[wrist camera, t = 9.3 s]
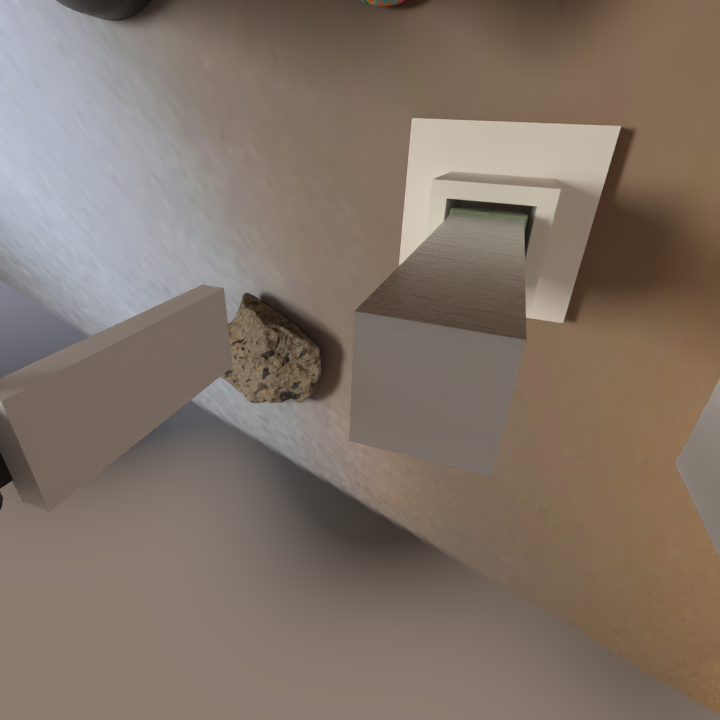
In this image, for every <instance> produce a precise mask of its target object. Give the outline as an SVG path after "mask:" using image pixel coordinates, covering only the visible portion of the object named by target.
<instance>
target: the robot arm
mask: <svg viewBox="0 0 720 720" xmlns="http://www.w3.org/2000/svg"><path fill="white" fill-rule="evenodd" d="M56 1H58V2H59V3H61V4H63V5H64V6H66V7H68V8H70V9H72V10H75V11H77V12H80V13H84V14H87V15H90V16H94V17H97V18H101V19H106V20H119V19H123V18H126V17H129V16H131V15H133V14H135V13H136V12H138V11H139V10H140V9H142V8H143V7H144V6H145V5H146V4H147V3H148V2H149V0H56ZM231 367H233V364H232V355H231V347H230V338H229V330H228V321H227V312H226V304H225V295H224V288H219V287H213V286H207V285H201V286H199V287H197V288H195V289H192V290H190V291H188V292H186V293H184V294H182V295H179V296H177V297H175V298H173V299H171V300H169V301H167V302H164V303H162V304H160V305H158V306H156V307H154V308H151V309H149V310H147V311H145V312H143V313H141V314H138V315H136V316H134V317H132V318H130V319H128V320H125V321H123V322H121V323H119V324H117V325H115V326H113V327H110V328H108V329H106V330H104V331H102V332H100V333H97V334H95V335H93V336H91V337H89V338H87V339H84V340H82V341H80V342H78V343H76V344H74V345H72V346H69V347H67V348H65V349H63V350H61V351H59V352H56V353H54V354H52V355H50V356H48V357H46V358H43V359H41V360H39V361H37V362H35V363H33V364H31V365H28V366H26V367H24V368H22V369H20V370H18V371H16V372H13V373H11V374H9V375H7V376H5V377H2V378H0V488H2V487H3V486H5V485H6V484H8V483H9V482H11V481H13V483H14V485H15V487H16V489H17V491H18V494H19V496H20V498H21V500H22V502H24V503H27V504H30V505H33V506H35V507H38V508H41V509H43V510H46V511H48V512H50V511H51V510H53V509H54V508H55V507H56V506H58V505H59V504H60V503H61V502H63V501H64V500H65V499H66V498H68V497H69V496H70V495H72V494H73V493H74V492H75V491H77V490H78V489H79V488H80V487H82V486H83V485H84V484H85V483H86V482H87V481H89V480H90V479H92V478H93V477H94V476H95V475H97V474H98V473H99V472H100V471H102V470H103V469H104V468H106V467H107V466H108V465H109V464H111V463H112V462H113V461H114V460H116V459H117V458H118V457H119V456H121V455H122V454H123V453H124V452H126V451H127V450H128V449H129V448H131V447H132V446H133V445H134V444H136V443H137V442H138V441H140V440H141V439H142V438H143V437H145V436H146V435H147V434H148V433H150V432H151V431H152V430H153V429H155V428H156V427H157V426H158V425H160V424H161V423H162V422H163V421H165V420H166V419H167V418H168V417H170V416H171V415H172V414H173V413H175V412H176V411H177V410H178V409H180V408H181V407H182V406H183V405H185V404H186V403H187V402H188V401H190V400H191V399H192V398H194V397H195V396H196V395H197V394H199V393H200V392H201V391H202V390H204V389H205V388H206V387H207V386H209V385H210V384H211V383H212V382H214V381H215V380H216V379H218V378H219V377H220V376H221V375H223V374H224V373H225V372H226V371H228V370H229V369H230V368H231ZM675 465H676V467H677V469H678V471H679V473H680V475H681V477H682V480H683V482H684V484H685V486H686V488H687V490H688V492H689V494H690V496H691V499H692V501H693V503H694V505H695V507H696V509H697V511H698V513H699V515H700V518H701V520H702V522H703V524H704V526H705V528H706V530H707V532H708V534H709V537H710V539H711V541H712V543H713V545H714V547H715V549H716V551H717V553H718V556H719V558H720V379H719V381H718V383H717V385H716V387H715V389H714V391H713V393H712V394H711V396H710V398H709V400H708V402H707V404H706V406H705V408H704V410H703V412H702V414H701V415H700V417H699V419H698V421H697V423H696V425H695V427H694V429H693V431H692V433H691V434H690V436H689V438H688V440H687V442H686V444H685V446H684V448H683V450H682V452H681V454H680V455H679V457H678V459H677V461H676V463H675ZM2 501H3V497H2V495H1V493H0V509H1V507H2Z"/></svg>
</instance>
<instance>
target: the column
mask: <svg viewBox="0 0 720 720" xmlns="http://www.w3.org/2000/svg"><path fill="white" fill-rule="evenodd" d="M527 218H528V216H527V214H524V212H517V211H507V210H496V209H485V208H474V207H463V206H458V207H457V208H453V207H452V208H451V209H450V213H449V216H448V217H447V218H446V219H445V220H444V221H443V222H442V223H441V224H440V225H439V226H438V227H437V228H436V229H435V230H434V232H433V233H432V234H431V235H430V236H429V237H428V238H427V239H426V240H425V241H424V242H423V243H422V244H421V245H420V246H419V247H418V248H417V249H416V250H415V251H414V252H413V253H412V254H411V255H410V256H409V257H408V258H407V259H406V260H405V261H404V262H403V263H402V264H401V265H400V266H399V267H398V268H397V269H396V270H395V271H394V272H393V273H392V274H391V275H390V276H389V277H388V278H387V279H386V280H385V281H384V282H383V283H382V284H381V285H380V286H379V287H378V288H377V289H376V290H375V291H374V292H373V293H372V294H371V295H370V296H369V297H368V298H367V299H366V300H365V301H364V302H363V303H362V304H361V305H360V306H359V307H358V308H357V309H356V310H355V314H354V338H353V363H352V387H351V412H350V436H349V441H353V442H357V443H361V444H365V445H369V446H373V447H377V448H381V449H385V450H388V451H392V452H396V453H400V454H404V455H408V456H412V457H416V458H420V459H424V460H428V461H431V462H435V463H439V464H443V465H447V466H451V467H455V468H459V469H463V470H467V471H470V472H474V473H478V474H482V475H486V476H490V477H492V473H493V469H494V465H495V461H496V458H497V454H498V450H499V446H500V442H501V438H502V434H503V430H504V426H505V422H506V418H507V414H508V410H509V407H510V403H511V399H512V395H513V391H514V387H515V383H516V379H517V375H518V371H519V367H520V363H521V360H522V356H523V352H524V348H525V344H526V291H525V239H524V231H525V226H526V222H527Z"/></svg>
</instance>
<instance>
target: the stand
mask: <svg viewBox="0 0 720 720" xmlns="http://www.w3.org/2000/svg"><path fill="white" fill-rule="evenodd" d="M620 128H621V126H603V125H577V124H551V123H525V122H500V121H474V120H448V119H422V118H412V125H411V136H410V147H409V158H408V169H407V181H406V192H405V203H404V214H403V226H402V237H401V248H400V259H399V266H400V265H401V264H402V263H403V262H404V261H405V260H406V259H407V258H408V257H409V256H410V255H411V254H412V253H413V252H414V251H415V250H416V249H417V248H418V247H419V246H420V245H421V244H422V243H423V242H424V241H425V240H426V239H427V238H428V237H429V236H430V235H431V234H432V233H433V232H434V230H435V229H436V228H437V227H438V226H439V225H440V224H441V223H442V222H443V221H444V220H445V219H446V218H447V217H448V216H449V213H450V209H451V208H452V207H453V208H457V207H458V206H463V207H474V208H485V209H496V210H507V211H517V212H524V214H527V216H528V218H527V222H526V226H525V231H524V239H525V291H526V318H533V319H539V320H546V321H552V322H559V323H563V322H564V319H565V315H566V312H567V308H568V305H569V302H570V298H571V295H572V291H573V288H574V285H575V281H576V278H577V274H578V271H579V268H580V264H581V261H582V257H583V254H584V251H585V247H586V244H587V240H588V237H589V234H590V230H591V227H592V224H593V220H594V217H595V213H596V210H597V207H598V203H599V200H600V196H601V193H602V190H603V186H604V183H605V179H606V176H607V173H608V169H609V166H610V162H611V159H612V156H613V152H614V149H615V145H616V142H617V139H618V135H619V132H620Z"/></svg>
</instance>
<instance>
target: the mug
mask: <svg viewBox="0 0 720 720" xmlns="http://www.w3.org/2000/svg"><path fill="white" fill-rule="evenodd" d="M361 1H363V2H365V3H367V4H370V5H374V6H391V5H396V4H399V3H402V2H404V1H406V0H361Z"/></svg>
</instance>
